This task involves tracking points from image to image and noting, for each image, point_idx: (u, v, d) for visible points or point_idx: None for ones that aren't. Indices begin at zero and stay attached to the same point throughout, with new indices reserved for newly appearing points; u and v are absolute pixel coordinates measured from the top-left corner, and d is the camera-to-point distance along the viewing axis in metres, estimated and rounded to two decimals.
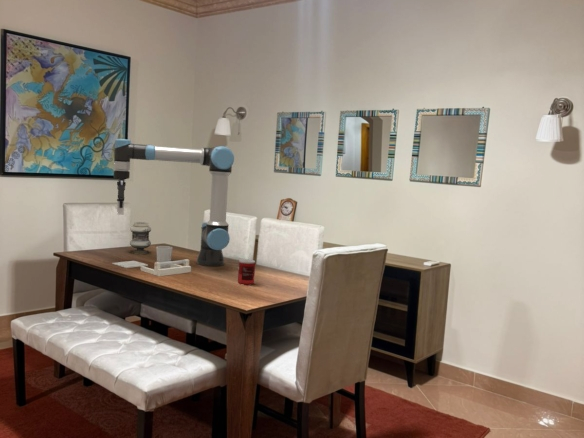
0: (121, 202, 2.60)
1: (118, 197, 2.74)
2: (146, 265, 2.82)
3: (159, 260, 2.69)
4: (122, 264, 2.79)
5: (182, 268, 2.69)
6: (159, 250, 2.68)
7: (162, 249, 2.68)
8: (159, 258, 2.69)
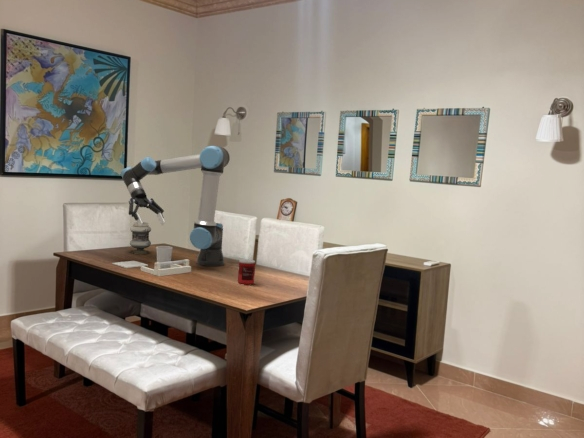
0: (134, 215, 2.74)
1: (157, 214, 2.86)
2: (146, 265, 2.82)
3: (159, 260, 2.69)
4: (122, 264, 2.79)
5: (182, 268, 2.69)
6: (159, 250, 2.68)
7: (162, 249, 2.68)
8: (159, 258, 2.69)
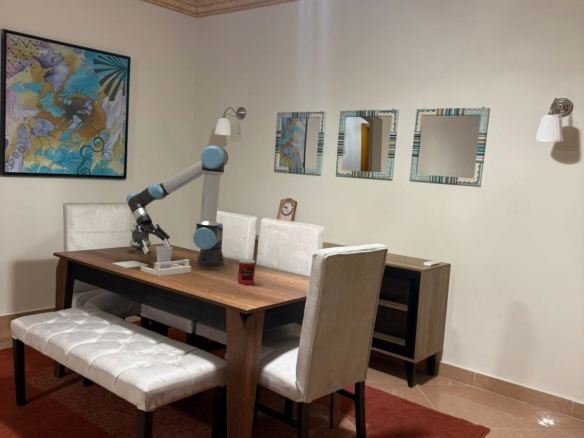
0: (139, 242, 2.70)
1: (163, 240, 2.83)
2: (146, 265, 2.82)
3: (159, 260, 2.69)
4: (122, 264, 2.79)
5: (182, 268, 2.69)
6: (159, 250, 2.68)
7: (162, 249, 2.68)
8: (159, 258, 2.69)
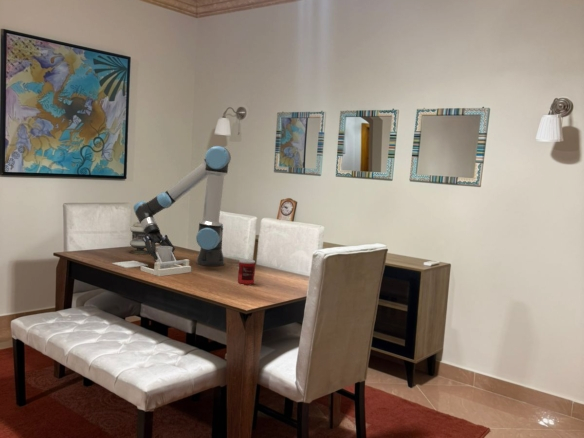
0: (153, 254, 2.68)
1: None
2: (146, 265, 2.82)
3: None
4: (122, 264, 2.79)
5: (182, 268, 2.69)
6: (159, 250, 2.68)
7: (162, 249, 2.68)
8: None
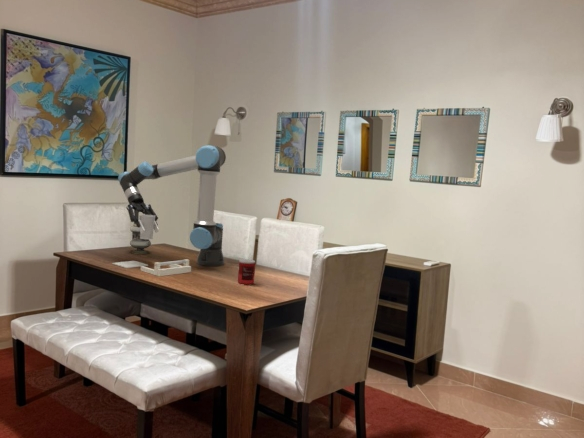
0: (136, 222, 2.75)
1: None
2: (146, 265, 2.82)
3: None
4: (122, 264, 2.79)
5: (182, 268, 2.69)
6: (142, 218, 2.76)
7: (145, 217, 2.75)
8: None
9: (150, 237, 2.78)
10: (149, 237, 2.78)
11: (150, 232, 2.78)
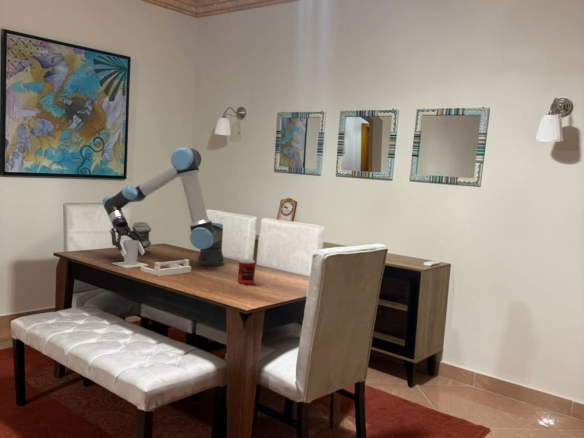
0: (117, 245, 2.77)
1: None
2: (146, 265, 2.82)
3: (126, 253, 2.79)
4: (122, 264, 2.79)
5: (182, 268, 2.69)
6: (126, 244, 2.78)
7: (128, 243, 2.77)
8: (126, 251, 2.78)
9: (134, 262, 2.80)
10: (133, 262, 2.80)
11: (134, 258, 2.80)
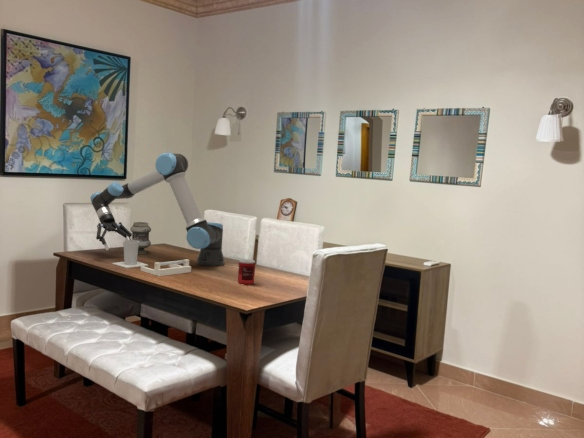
0: (101, 239, 2.84)
1: (125, 237, 2.97)
2: (146, 265, 2.82)
3: (126, 253, 2.79)
4: (122, 264, 2.79)
5: (182, 268, 2.69)
6: (126, 244, 2.77)
7: (128, 243, 2.77)
8: (126, 251, 2.78)
9: (134, 262, 2.80)
10: (133, 262, 2.80)
11: (134, 258, 2.80)
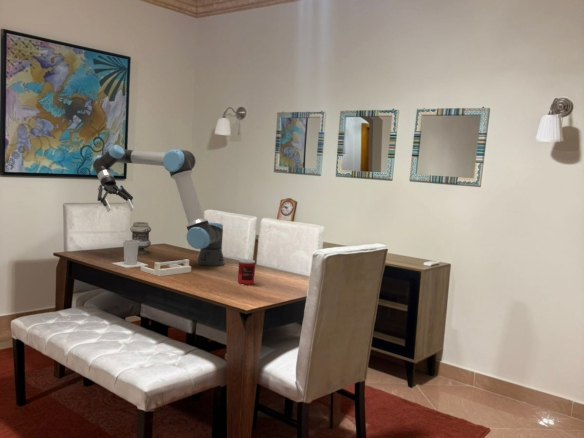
0: (102, 201, 2.82)
1: (126, 200, 2.95)
2: (146, 265, 2.82)
3: (126, 253, 2.79)
4: (122, 264, 2.79)
5: (182, 268, 2.69)
6: (126, 244, 2.77)
7: (128, 243, 2.77)
8: (126, 251, 2.78)
9: (134, 262, 2.80)
10: (133, 262, 2.80)
11: (134, 258, 2.80)
